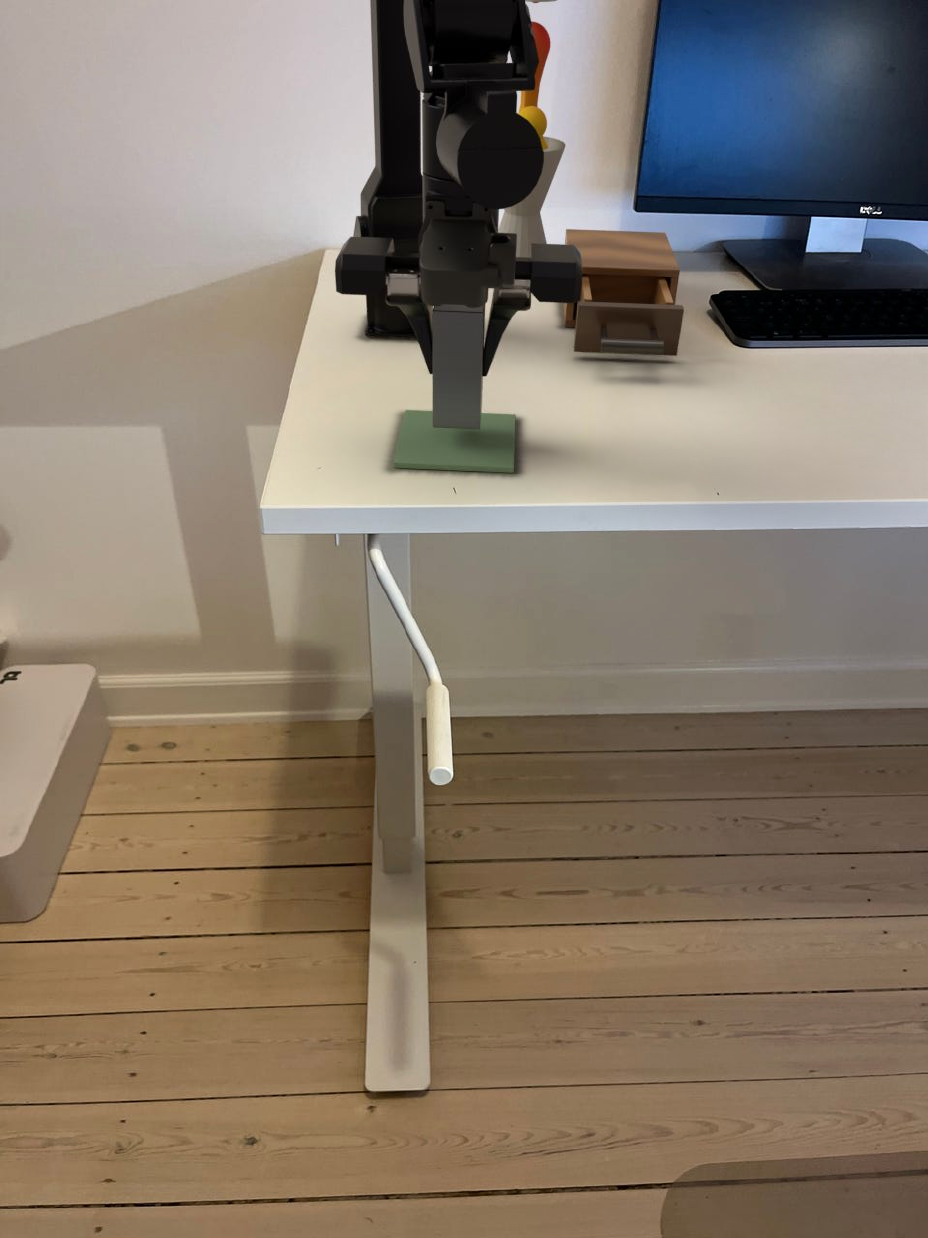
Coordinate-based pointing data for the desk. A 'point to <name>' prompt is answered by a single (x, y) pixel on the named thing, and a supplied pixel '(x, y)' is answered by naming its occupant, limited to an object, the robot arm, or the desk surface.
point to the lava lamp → (527, 212)
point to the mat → (456, 444)
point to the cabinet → (622, 258)
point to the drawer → (627, 316)
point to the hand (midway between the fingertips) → (458, 373)
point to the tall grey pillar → (458, 366)
